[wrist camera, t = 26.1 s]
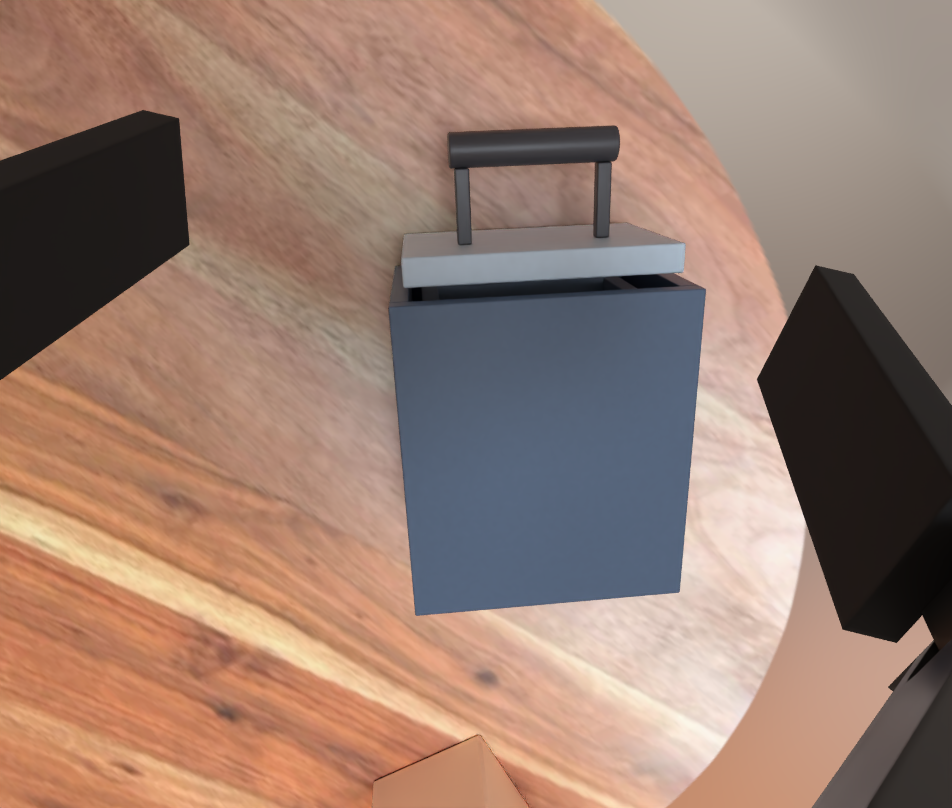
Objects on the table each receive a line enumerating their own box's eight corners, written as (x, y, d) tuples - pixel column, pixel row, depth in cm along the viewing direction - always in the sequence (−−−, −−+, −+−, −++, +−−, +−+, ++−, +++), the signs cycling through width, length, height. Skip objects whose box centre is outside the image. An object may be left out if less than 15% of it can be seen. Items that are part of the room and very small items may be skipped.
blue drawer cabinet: (394, 265, 35) (388, 307, 26) (632, 253, 35) (706, 288, 26) (415, 511, 40) (415, 616, 31) (621, 495, 41) (680, 593, 32)
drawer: (396, 136, 31) (391, 132, 24) (632, 126, 32) (695, 120, 25) (422, 475, 38) (424, 553, 31) (618, 461, 39) (664, 533, 32)
